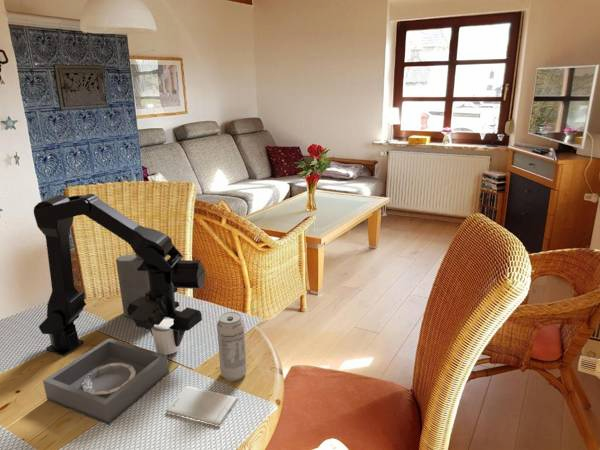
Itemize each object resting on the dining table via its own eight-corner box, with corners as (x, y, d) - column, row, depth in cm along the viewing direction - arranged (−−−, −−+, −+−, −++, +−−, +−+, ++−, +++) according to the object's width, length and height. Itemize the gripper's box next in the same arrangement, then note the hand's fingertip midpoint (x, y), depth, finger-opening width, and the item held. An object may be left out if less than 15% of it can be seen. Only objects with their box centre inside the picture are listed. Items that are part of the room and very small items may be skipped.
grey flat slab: (165, 409, 94) (219, 422, 90) (187, 384, 102) (237, 396, 98) (166, 416, 95) (220, 429, 91) (187, 390, 102) (238, 402, 98)
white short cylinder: (187, 344, 117) (185, 320, 114) (169, 358, 111) (166, 333, 109) (166, 338, 119) (163, 314, 117) (147, 352, 114) (144, 327, 111)
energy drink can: (246, 365, 110) (243, 309, 105) (247, 381, 104) (244, 323, 99) (221, 367, 109) (216, 311, 104) (220, 383, 103) (216, 325, 99)
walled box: (47, 400, 99) (42, 380, 97) (111, 355, 114) (108, 337, 113) (109, 425, 92) (105, 404, 90) (169, 373, 107) (166, 355, 105)
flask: (177, 311, 135) (170, 247, 129) (168, 321, 130) (161, 255, 124) (131, 307, 138) (122, 245, 132) (120, 316, 132) (110, 252, 126)
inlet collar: (71, 391, 100) (70, 385, 100) (110, 363, 110) (110, 358, 109) (109, 405, 96) (108, 399, 95) (146, 375, 105) (145, 370, 105)
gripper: (105, 293, 106) (114, 350, 111) (169, 309, 99) (176, 370, 104) (140, 274, 116) (147, 328, 121) (200, 288, 109) (205, 345, 114)
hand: (167, 342), depth 115 cm, fingers closed on white short cylinder, 6 cm apart
